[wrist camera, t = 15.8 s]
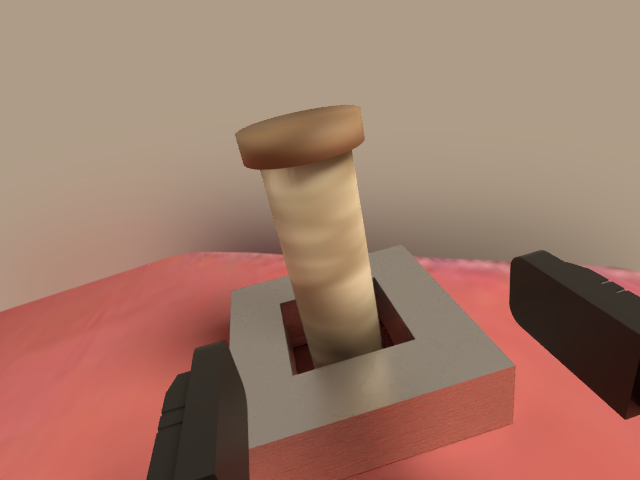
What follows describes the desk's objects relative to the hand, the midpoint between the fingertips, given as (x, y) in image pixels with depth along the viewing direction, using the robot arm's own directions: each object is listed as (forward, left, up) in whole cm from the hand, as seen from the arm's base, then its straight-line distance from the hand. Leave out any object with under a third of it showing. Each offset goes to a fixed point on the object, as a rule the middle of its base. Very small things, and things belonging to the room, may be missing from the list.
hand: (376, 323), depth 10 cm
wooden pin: (0, +8, -9) cm, 12 cm away
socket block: (0, +8, -9) cm, 13 cm away
